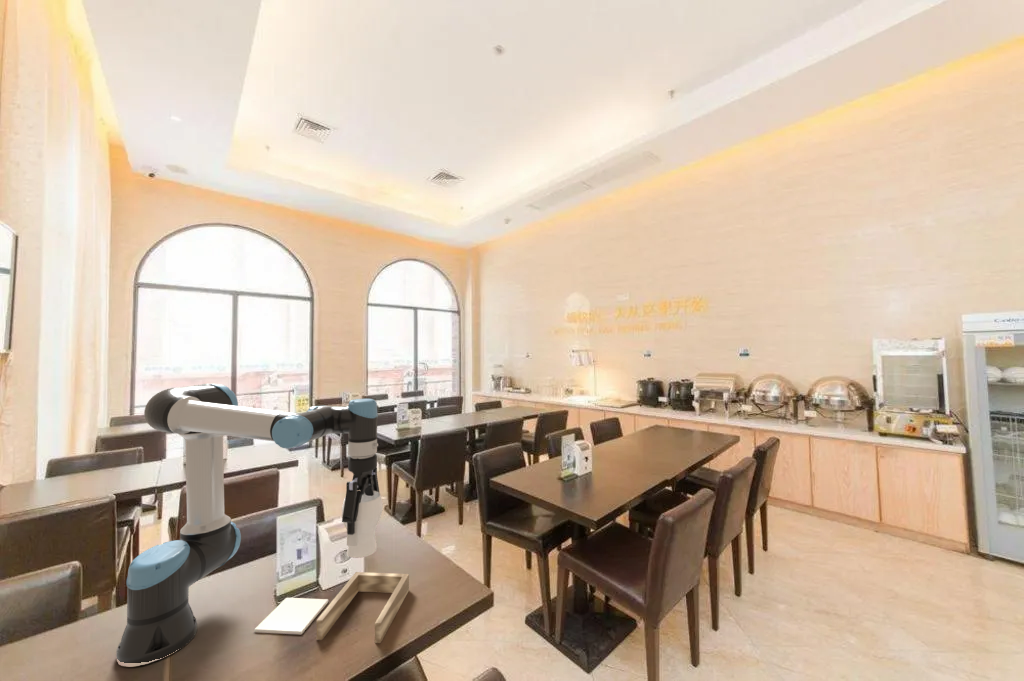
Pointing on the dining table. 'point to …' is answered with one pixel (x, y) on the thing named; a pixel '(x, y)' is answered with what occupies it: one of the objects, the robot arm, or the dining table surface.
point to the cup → (366, 525)
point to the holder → (367, 583)
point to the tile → (292, 616)
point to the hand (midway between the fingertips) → (362, 534)
